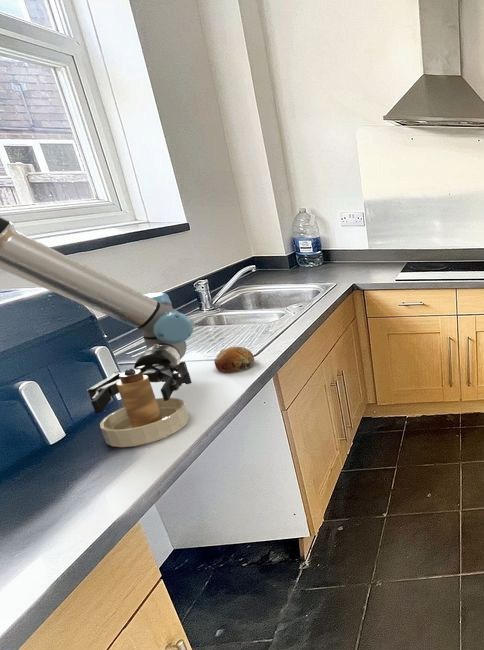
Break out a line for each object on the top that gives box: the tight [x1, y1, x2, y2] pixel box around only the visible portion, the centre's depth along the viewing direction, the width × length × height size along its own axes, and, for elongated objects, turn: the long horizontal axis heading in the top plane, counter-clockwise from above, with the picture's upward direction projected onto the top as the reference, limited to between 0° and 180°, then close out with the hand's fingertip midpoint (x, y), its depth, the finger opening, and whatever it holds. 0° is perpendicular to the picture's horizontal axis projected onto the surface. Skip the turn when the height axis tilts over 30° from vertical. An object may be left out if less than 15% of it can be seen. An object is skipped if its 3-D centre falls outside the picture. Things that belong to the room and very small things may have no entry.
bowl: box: [99, 397, 190, 448], centre depth 92 cm, size 14×14×4 cm
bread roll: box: [213, 345, 255, 374], centre depth 125 cm, size 10×10×8 cm
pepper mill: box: [116, 368, 162, 428], centre depth 90 cm, size 5×5×14 cm
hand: (131, 401), depth 86 cm, fingers open, 10 cm apart
